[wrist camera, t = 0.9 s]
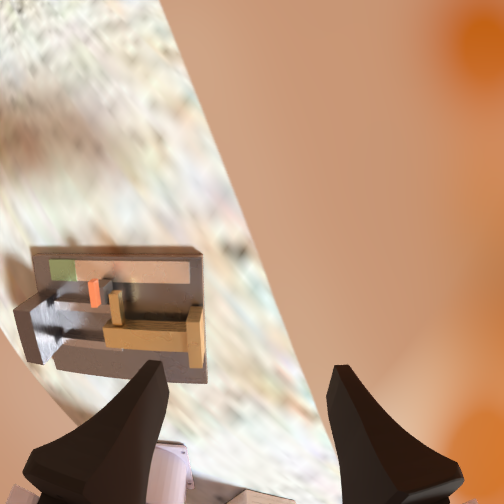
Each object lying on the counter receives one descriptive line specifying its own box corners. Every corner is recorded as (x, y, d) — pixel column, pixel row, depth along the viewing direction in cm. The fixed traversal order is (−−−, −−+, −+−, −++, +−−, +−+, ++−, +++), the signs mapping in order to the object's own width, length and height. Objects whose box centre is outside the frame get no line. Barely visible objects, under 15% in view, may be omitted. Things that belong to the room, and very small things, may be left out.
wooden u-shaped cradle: (204, 349, 26) (202, 368, 23) (117, 344, 25) (106, 362, 22) (202, 287, 24) (198, 302, 22) (108, 285, 24) (94, 298, 21)
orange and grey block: (113, 295, 24) (101, 309, 21) (101, 295, 24) (87, 308, 21) (111, 271, 23) (97, 282, 21) (98, 271, 23) (83, 282, 21)
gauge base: (207, 377, 28) (204, 414, 23) (60, 364, 27) (38, 392, 21) (202, 254, 25) (196, 273, 20) (38, 253, 24) (5, 268, 19)
